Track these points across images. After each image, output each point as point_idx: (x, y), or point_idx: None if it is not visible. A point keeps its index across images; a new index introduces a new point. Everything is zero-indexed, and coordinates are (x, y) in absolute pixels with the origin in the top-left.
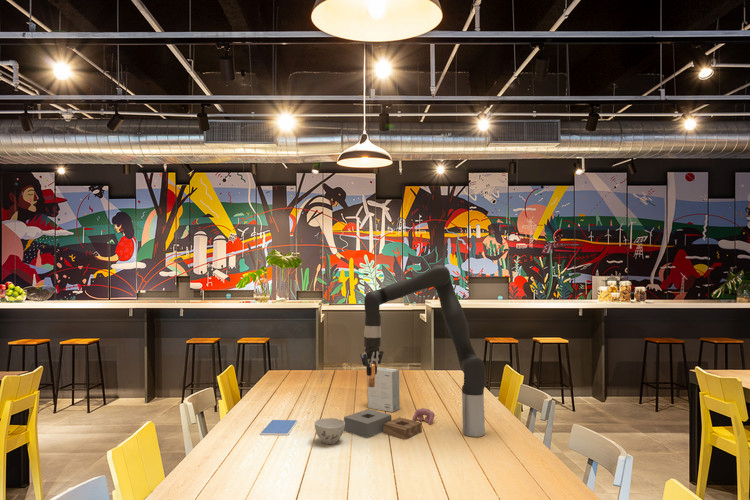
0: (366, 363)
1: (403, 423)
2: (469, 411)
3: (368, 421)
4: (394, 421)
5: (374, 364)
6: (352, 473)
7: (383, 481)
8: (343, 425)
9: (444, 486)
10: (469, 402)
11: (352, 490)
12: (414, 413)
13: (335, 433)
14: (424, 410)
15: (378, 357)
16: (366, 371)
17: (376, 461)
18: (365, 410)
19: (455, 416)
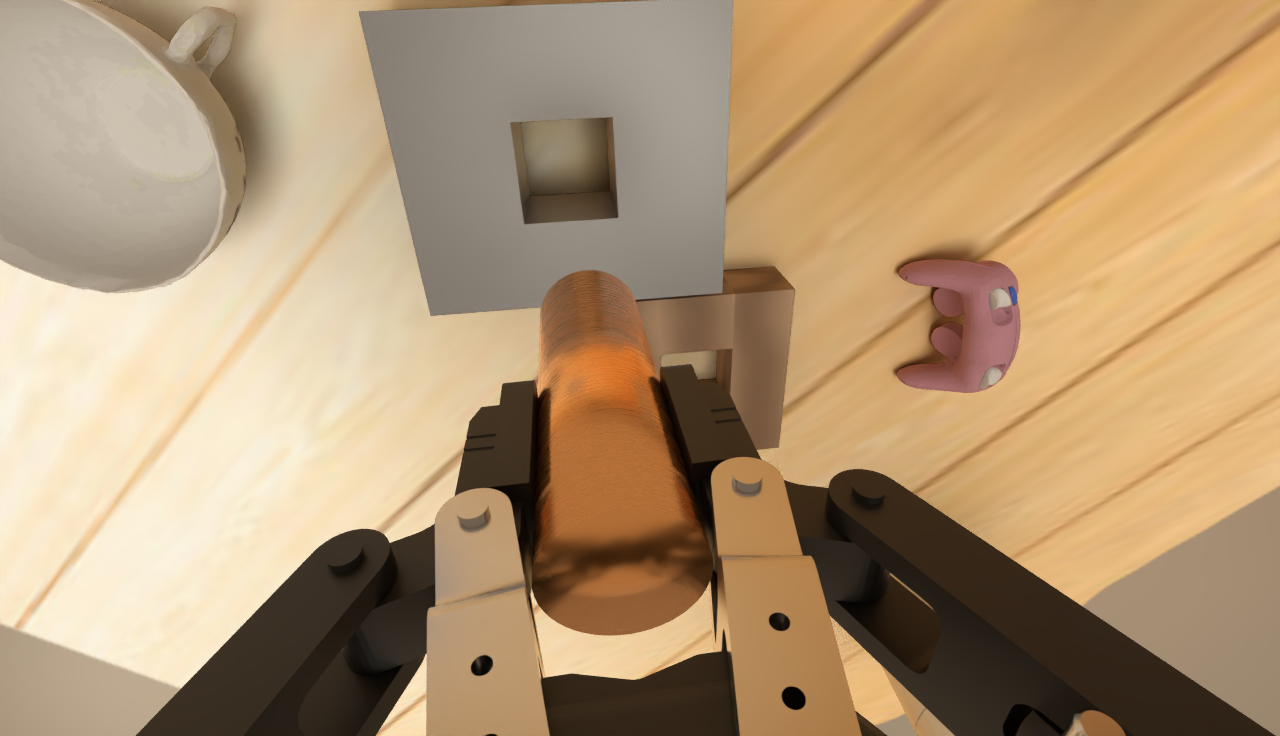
0: (307, 717)
1: (728, 355)
2: (890, 677)
3: (471, 282)
4: (690, 325)
5: (626, 622)
6: (111, 535)
7: (209, 634)
8: (174, 280)
9: (383, 730)
10: (915, 727)
11: (46, 623)
12: (957, 275)
13: (110, 261)
14: (978, 353)
15: (942, 667)
16: (466, 443)
17: (291, 514)
18: (672, 20)
19: (1111, 379)
